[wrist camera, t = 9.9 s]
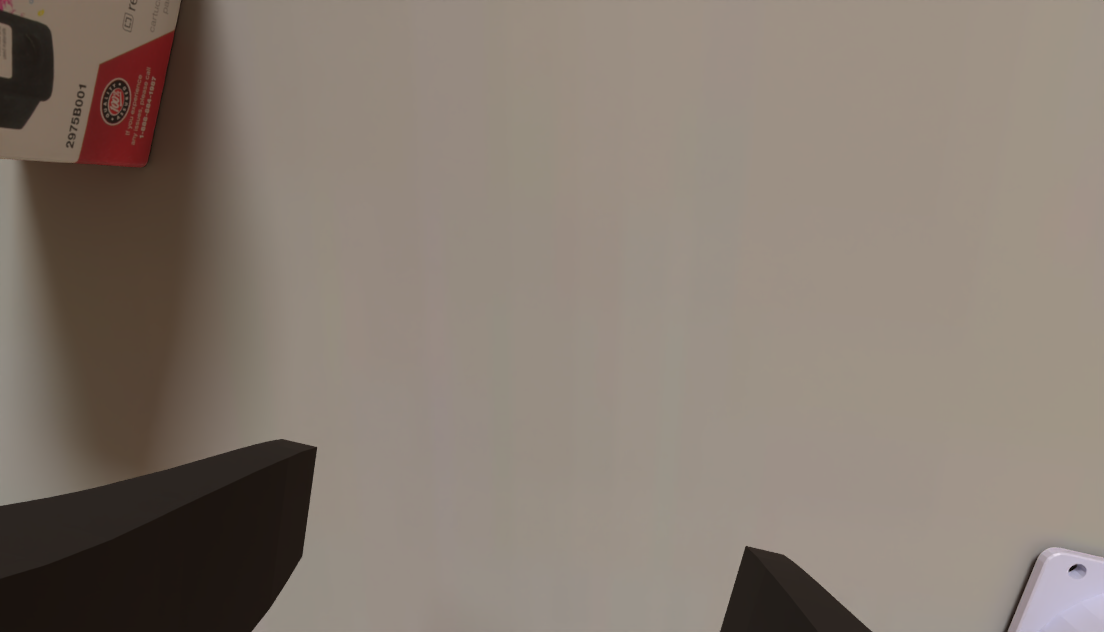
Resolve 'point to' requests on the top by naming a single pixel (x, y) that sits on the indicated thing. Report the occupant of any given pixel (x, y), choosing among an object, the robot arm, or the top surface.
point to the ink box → (83, 78)
